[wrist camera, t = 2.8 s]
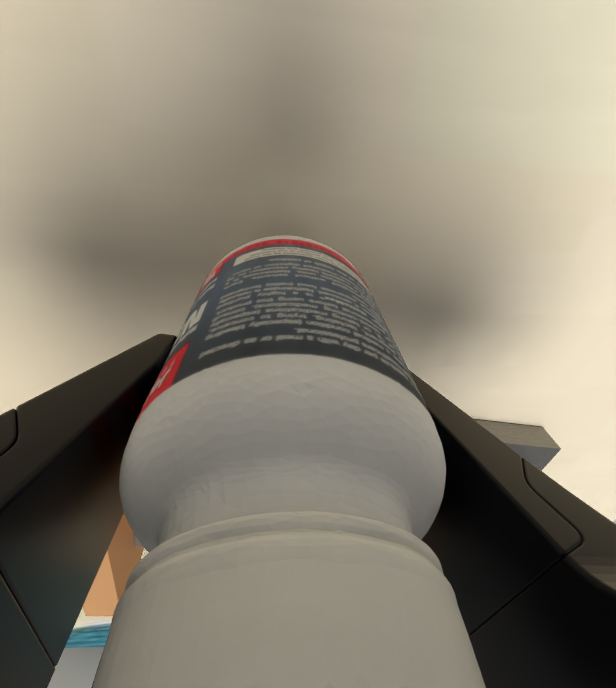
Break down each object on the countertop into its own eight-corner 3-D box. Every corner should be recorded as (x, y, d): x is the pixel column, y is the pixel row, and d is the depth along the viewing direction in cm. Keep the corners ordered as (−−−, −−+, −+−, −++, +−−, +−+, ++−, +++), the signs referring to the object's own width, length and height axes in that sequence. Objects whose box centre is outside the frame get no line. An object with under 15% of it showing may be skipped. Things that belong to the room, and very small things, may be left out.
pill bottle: (194, 221, 9) (-245, 707, 1) (385, 241, 10) (751, 658, 2) (204, 379, 12) (70, 817, 4) (351, 386, 12) (454, 781, 5)
